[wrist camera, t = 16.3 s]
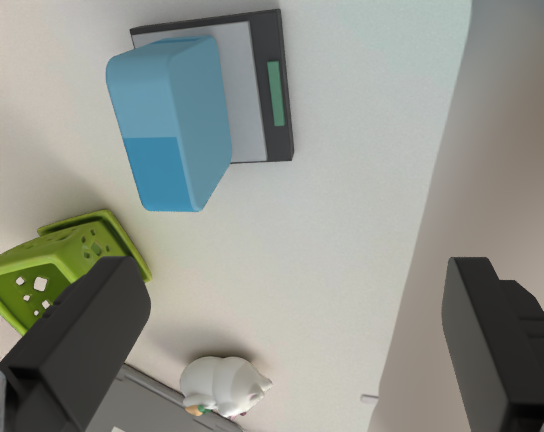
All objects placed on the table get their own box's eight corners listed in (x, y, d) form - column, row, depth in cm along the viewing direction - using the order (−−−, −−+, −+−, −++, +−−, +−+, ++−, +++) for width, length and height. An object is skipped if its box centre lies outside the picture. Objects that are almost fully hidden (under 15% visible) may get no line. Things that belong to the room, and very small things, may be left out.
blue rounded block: (168, 35, 35) (97, 61, 25) (216, 32, 34) (163, 57, 24) (193, 158, 41) (144, 218, 31) (234, 158, 40) (197, 219, 30)
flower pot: (36, 216, 53) (-40, 277, 43) (116, 191, 49) (54, 251, 38) (93, 291, 60) (39, 360, 49) (169, 274, 55) (128, 346, 45)
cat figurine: (164, 420, 58) (256, 434, 53) (161, 367, 58) (252, 376, 53) (198, 392, 67) (279, 401, 62) (195, 346, 67) (276, 351, 62)
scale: (280, 8, 35) (275, 11, 33) (294, 152, 42) (291, 164, 40) (140, 26, 38) (124, 30, 35) (175, 158, 45) (164, 170, 43)
